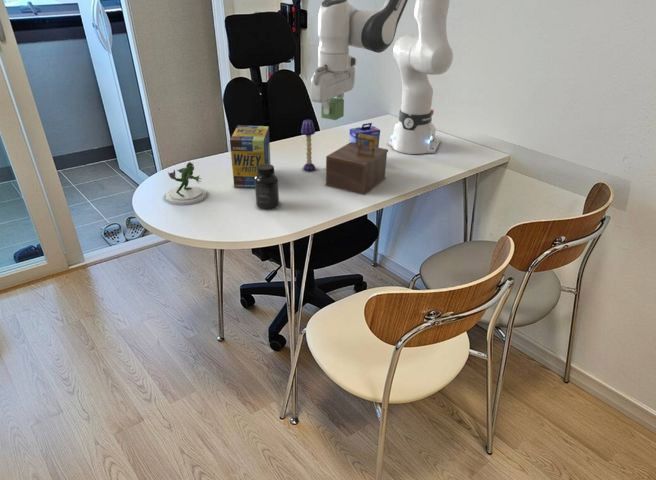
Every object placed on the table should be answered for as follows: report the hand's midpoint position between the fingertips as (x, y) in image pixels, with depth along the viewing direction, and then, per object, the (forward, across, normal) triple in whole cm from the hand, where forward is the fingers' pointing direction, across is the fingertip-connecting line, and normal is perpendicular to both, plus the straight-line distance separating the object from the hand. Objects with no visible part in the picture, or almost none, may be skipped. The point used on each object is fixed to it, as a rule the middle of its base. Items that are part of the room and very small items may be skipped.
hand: (332, 111), depth 150 cm
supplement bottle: (+23, -26, +7) cm, 35 cm away
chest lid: (+14, +4, -7) cm, 16 cm away
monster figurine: (+22, -34, +32) cm, 52 cm away
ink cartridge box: (+23, +21, -1) cm, 31 cm away
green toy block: (+2, 0, 0) cm, 2 cm away
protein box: (+23, -12, +23) cm, 35 cm away
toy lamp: (+22, +5, +12) cm, 26 cm away
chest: (+23, +4, -7) cm, 24 cm away
